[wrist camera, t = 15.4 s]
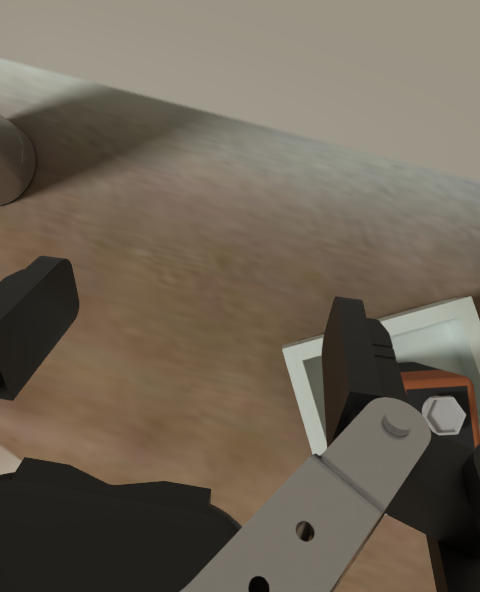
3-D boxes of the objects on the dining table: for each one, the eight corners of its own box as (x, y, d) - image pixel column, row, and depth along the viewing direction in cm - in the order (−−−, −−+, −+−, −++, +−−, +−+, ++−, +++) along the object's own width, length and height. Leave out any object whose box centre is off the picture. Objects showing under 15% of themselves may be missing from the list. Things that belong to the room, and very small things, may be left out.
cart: (321, 479, 36) (333, 527, 27) (281, 343, 37) (282, 348, 29) (472, 441, 35) (534, 478, 26) (426, 302, 36) (471, 296, 27)
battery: (416, 360, 30) (484, 378, 20) (426, 450, 29) (502, 514, 19) (359, 364, 30) (398, 384, 20) (368, 453, 30) (413, 517, 20)
